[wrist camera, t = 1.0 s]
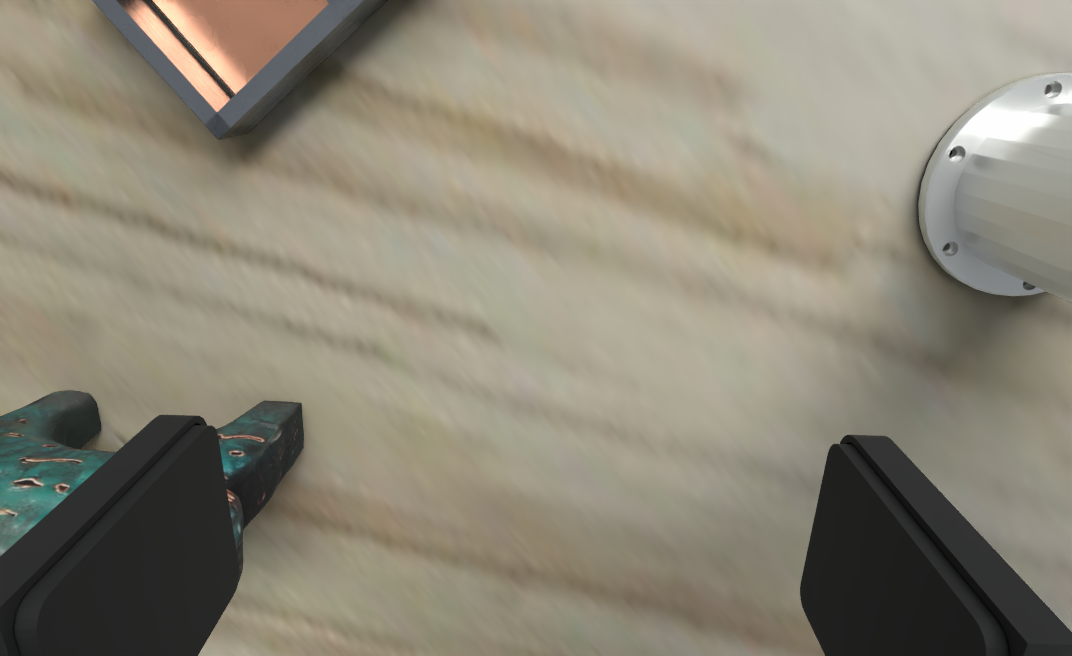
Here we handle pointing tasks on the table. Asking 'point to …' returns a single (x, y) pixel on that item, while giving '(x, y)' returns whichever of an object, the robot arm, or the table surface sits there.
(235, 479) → the ceramic cat
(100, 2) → the holder
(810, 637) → the table surface
